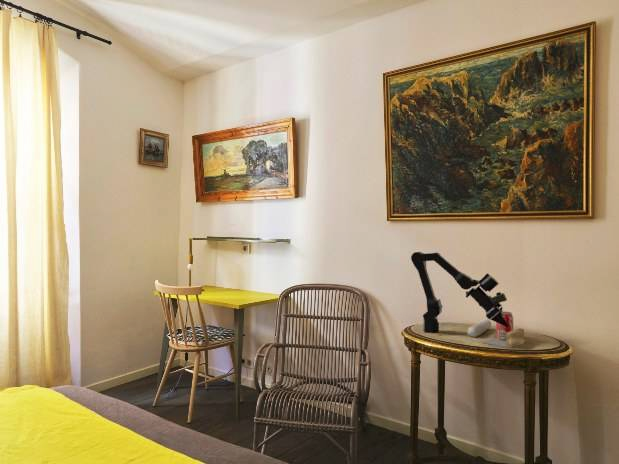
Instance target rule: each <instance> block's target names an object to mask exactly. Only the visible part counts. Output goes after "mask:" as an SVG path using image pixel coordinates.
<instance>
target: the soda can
mask: <svg viewBox="0 0 619 464" xmlns="http://www.w3.org/2000/svg"><path fill="white" fill-rule="evenodd" d="M501 315H502V317H503V318H504V319H505V321H506V322H507V324H508V325H509V326H508V327H506V326H504V325H501V324H499V323H497V322H495V323H496V329H495V330H496V337H497V338H498V340H502V341H506V333H508V332H511V331H514V316H513V313H512V312H511V311H504V310H502V311H501Z"/></svg>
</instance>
